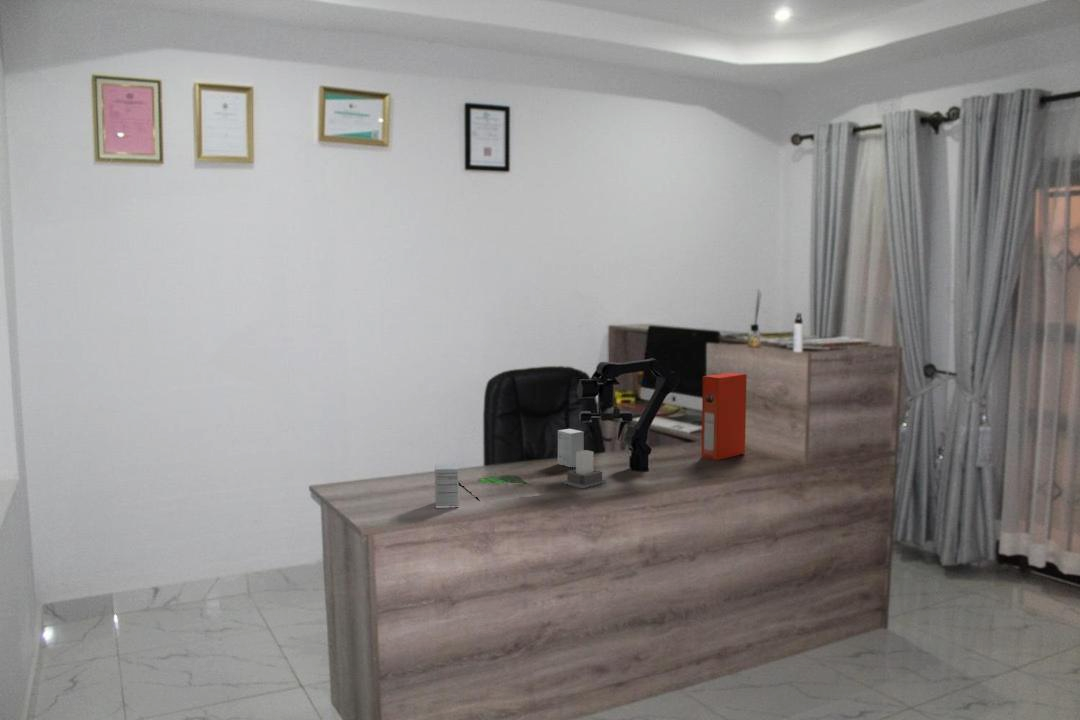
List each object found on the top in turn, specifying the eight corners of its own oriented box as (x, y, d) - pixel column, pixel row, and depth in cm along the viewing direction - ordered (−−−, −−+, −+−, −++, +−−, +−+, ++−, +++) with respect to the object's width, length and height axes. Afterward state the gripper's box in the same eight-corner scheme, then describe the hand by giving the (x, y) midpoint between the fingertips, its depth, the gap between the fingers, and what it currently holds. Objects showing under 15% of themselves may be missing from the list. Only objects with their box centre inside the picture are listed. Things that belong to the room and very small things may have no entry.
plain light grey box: (586, 478, 301) (586, 450, 300) (593, 479, 299) (593, 451, 298) (575, 480, 298) (576, 452, 297) (583, 482, 295) (583, 453, 294)
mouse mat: (545, 496, 283) (545, 493, 283) (481, 504, 275) (481, 500, 275) (515, 477, 308) (515, 474, 308) (456, 483, 300) (456, 480, 300)
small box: (584, 465, 324) (584, 431, 322) (571, 468, 320) (571, 433, 318) (569, 461, 330) (569, 428, 328) (557, 464, 326) (557, 430, 324)
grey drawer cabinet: (435, 502, 275) (435, 463, 274) (459, 501, 276) (458, 463, 275) (434, 508, 268) (434, 469, 267) (458, 508, 269) (458, 468, 267)
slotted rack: (587, 477, 306) (587, 466, 305) (606, 482, 299) (606, 471, 299) (563, 483, 298) (563, 472, 297) (582, 488, 291) (582, 477, 291)
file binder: (700, 457, 337) (702, 376, 334) (728, 450, 348) (730, 372, 345) (717, 460, 331) (719, 378, 327) (744, 454, 342) (747, 374, 339)
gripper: (581, 400, 302) (581, 444, 304) (634, 400, 303) (634, 444, 305) (579, 395, 314) (579, 437, 315) (630, 395, 314) (630, 437, 316)
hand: (605, 439), depth 313 cm, fingers open, 9 cm apart
